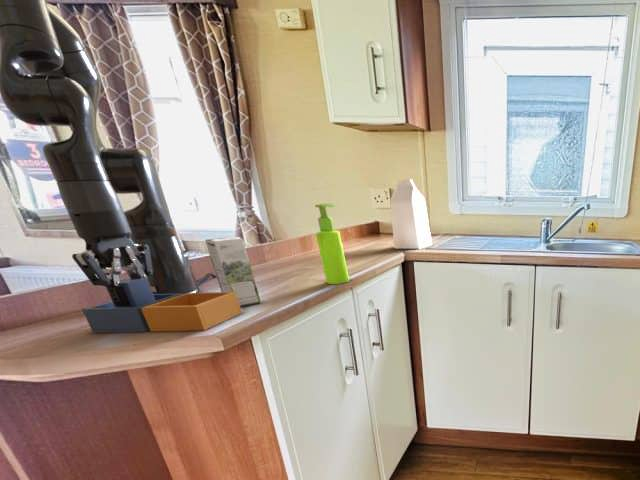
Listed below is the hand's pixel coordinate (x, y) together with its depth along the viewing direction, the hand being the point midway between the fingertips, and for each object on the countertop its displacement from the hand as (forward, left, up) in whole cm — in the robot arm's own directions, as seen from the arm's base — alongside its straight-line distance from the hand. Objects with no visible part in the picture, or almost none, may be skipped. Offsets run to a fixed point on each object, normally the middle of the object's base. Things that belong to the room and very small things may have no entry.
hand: (134, 302), depth 83 cm
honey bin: (0, +11, -4) cm, 12 cm away
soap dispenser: (-37, +25, -5) cm, 45 cm away
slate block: (0, 0, 0) cm, 0 cm away
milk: (-109, +28, -5) cm, 113 cm away
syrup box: (-14, +12, -5) cm, 19 cm away
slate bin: (0, 0, -4) cm, 4 cm away
